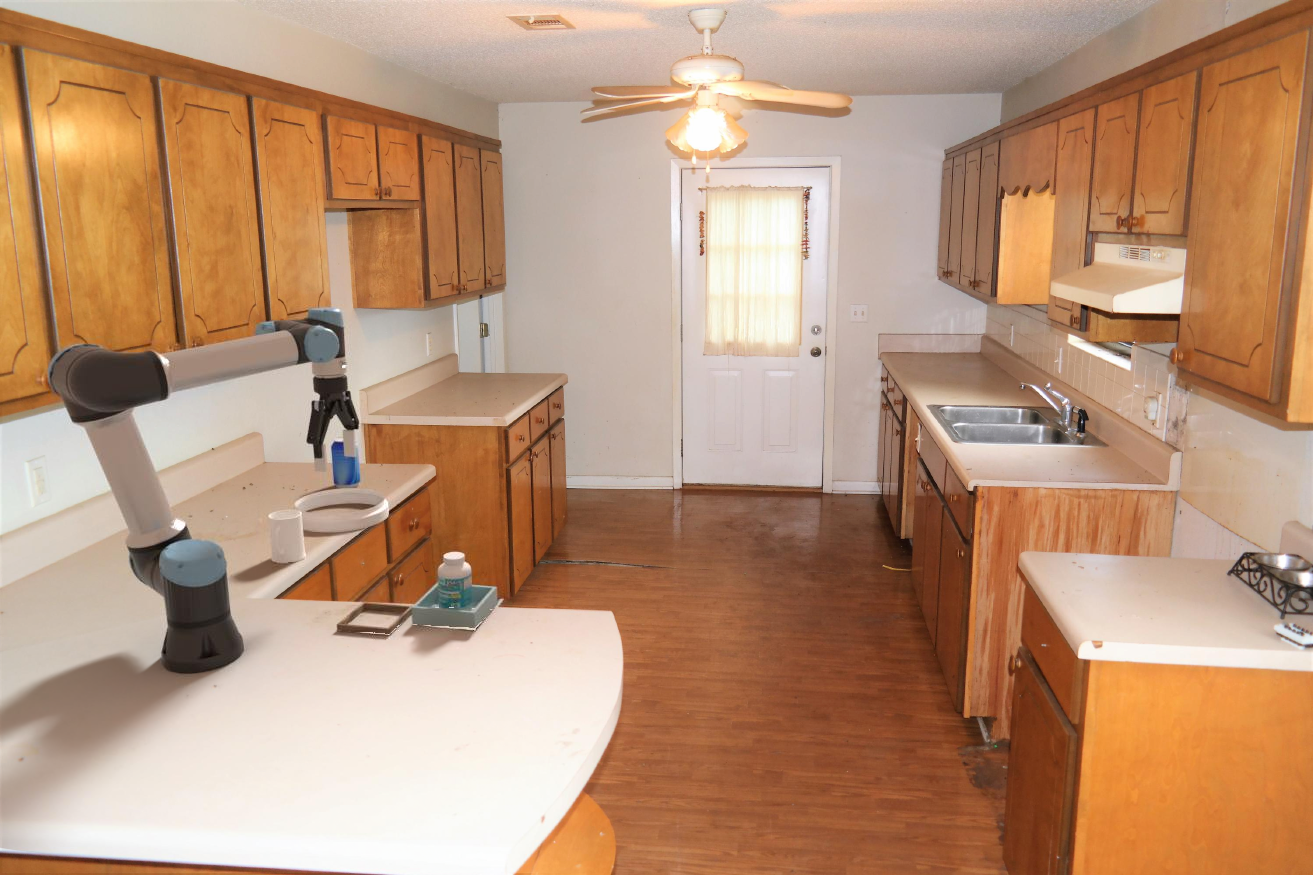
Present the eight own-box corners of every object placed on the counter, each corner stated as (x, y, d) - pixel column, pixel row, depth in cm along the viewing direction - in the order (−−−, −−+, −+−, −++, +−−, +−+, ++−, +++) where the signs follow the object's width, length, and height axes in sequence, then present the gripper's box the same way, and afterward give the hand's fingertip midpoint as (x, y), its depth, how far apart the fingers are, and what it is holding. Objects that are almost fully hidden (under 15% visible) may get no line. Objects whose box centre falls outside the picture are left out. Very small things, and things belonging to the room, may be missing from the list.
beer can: (329, 488, 303) (325, 441, 300) (341, 481, 311) (338, 435, 308) (353, 490, 302) (349, 442, 298) (365, 482, 310) (362, 436, 306)
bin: (475, 630, 202) (474, 612, 201) (412, 625, 205) (411, 607, 204) (497, 603, 216) (497, 586, 215) (438, 598, 219) (437, 581, 218)
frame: (389, 635, 200) (389, 629, 199) (337, 630, 202) (336, 624, 201) (413, 612, 211) (413, 606, 211) (363, 607, 213) (363, 601, 213)
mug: (291, 569, 236) (287, 524, 233) (259, 567, 236) (254, 523, 233) (311, 552, 247) (308, 509, 244) (280, 551, 248) (276, 508, 245)
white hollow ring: (335, 539, 258) (333, 521, 256) (273, 521, 272) (272, 504, 270) (407, 514, 280) (407, 496, 279) (347, 498, 294) (346, 482, 293)
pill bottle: (432, 614, 208) (430, 558, 205) (450, 602, 215) (448, 547, 212) (461, 620, 206) (459, 563, 203) (478, 607, 213) (476, 551, 209)
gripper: (316, 385, 201) (323, 478, 207) (370, 367, 225) (375, 451, 230) (285, 383, 203) (292, 476, 208) (341, 365, 227) (347, 449, 232)
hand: (336, 463), depth 219 cm, fingers open, 13 cm apart
